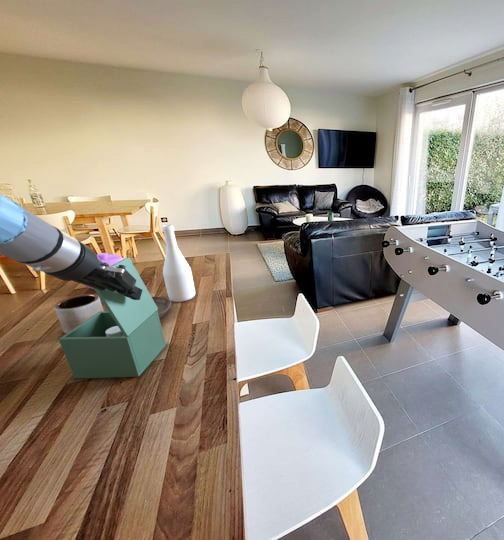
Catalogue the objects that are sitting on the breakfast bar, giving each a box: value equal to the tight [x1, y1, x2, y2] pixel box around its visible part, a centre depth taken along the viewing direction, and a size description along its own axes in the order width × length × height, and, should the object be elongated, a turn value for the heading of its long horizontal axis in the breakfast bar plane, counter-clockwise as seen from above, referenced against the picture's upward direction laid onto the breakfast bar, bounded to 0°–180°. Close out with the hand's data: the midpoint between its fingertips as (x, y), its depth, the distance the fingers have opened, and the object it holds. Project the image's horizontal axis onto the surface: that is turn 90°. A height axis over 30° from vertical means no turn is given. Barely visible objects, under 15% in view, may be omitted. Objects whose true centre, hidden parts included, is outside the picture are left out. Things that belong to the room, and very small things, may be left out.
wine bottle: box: [161, 224, 196, 303], centre depth 112 cm, size 10×10×30 cm
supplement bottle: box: [105, 326, 124, 337], centre depth 79 cm, size 5×5×10 cm
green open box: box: [58, 310, 167, 379], centre depth 79 cm, size 16×14×12 cm
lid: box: [94, 257, 158, 337], centre depth 74 cm, size 17×14×1 cm
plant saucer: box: [151, 296, 172, 319], centre depth 103 cm, size 18×18×3 cm
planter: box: [53, 293, 105, 335], centre depth 94 cm, size 11×11×10 cm
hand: (138, 294), depth 74 cm, fingers closed
